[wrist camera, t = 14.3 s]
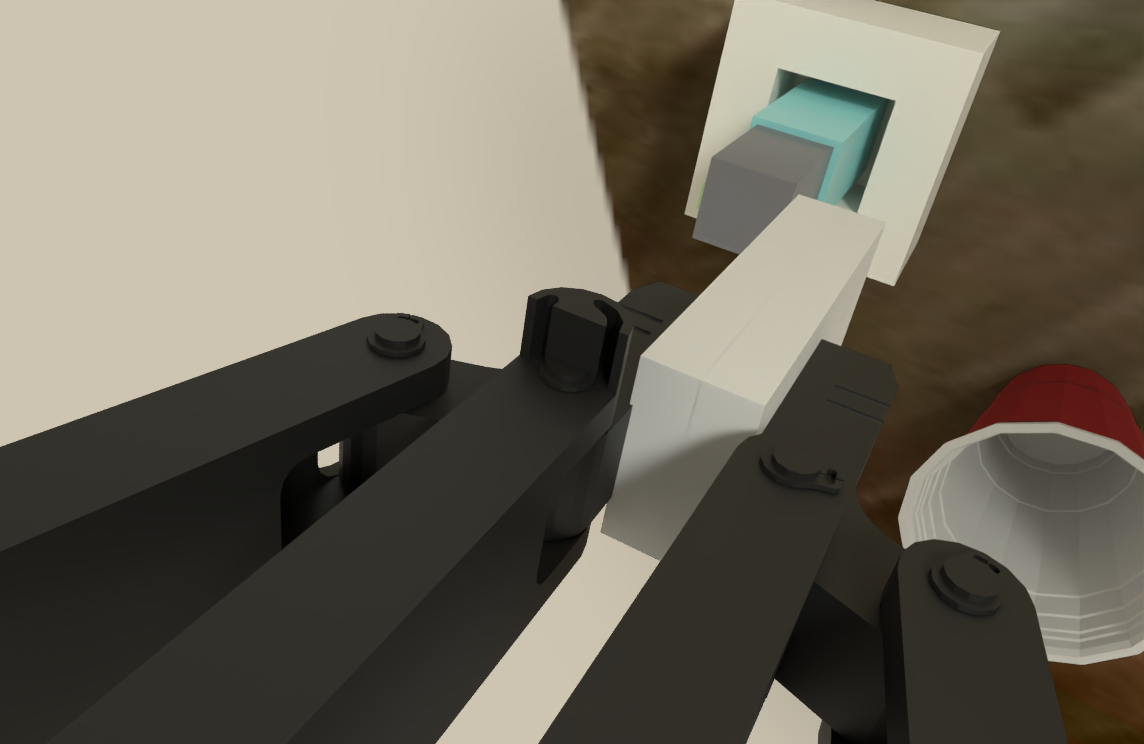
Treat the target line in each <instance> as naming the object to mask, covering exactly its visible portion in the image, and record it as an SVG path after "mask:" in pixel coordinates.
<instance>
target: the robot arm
mask: <svg viewBox="0 0 1144 744" xmlns="http://www.w3.org/2000/svg"><path fill="white" fill-rule="evenodd" d="M885 225H886V222H883V221H880V220H877V219H874V218H871V217H868V216H865V215H862V214H859V213H855V212H852V211H849V210H846V209H843V208H840V207H837V206H834V205H831V204H828V203H824V202H821V201H818V200H815V199H812V198H809V197H806V196H803V195H800V194H799V195H798V196H797V197H796V198H795V199H794V200H793V201H792V202H791V203H790V204H789V205H788V206H787V207H786V208H785V209H784V210H783V211H782V212H781V213H780V214H779V215H778V216H777V217H776V218H775V219H774V220H773V221H772V222H771V223H770V224H769V225H768V226H767V227H766V228H765V229H764V230H763V231H762V232H761V233H760V234H759V235H758V237H757V238H756V239H755V240H754V241H753V242H752V243H751V244H750V245H749V246H748V247H747V248H746V249H745V250H744V251H743V252H742V253H741V254H740V255H739V256H738V257H737V258H736V259H735V260H734V261H733V262H732V263H731V264H730V265H729V266H728V267H727V268H726V269H725V270H724V271H723V272H722V273H721V274H720V275H719V276H718V277H717V278H716V279H715V280H714V281H713V282H712V283H711V284H710V285H709V286H708V287H707V289H706V290H705V291H704V292H703V293H702V294H701V295H700V296H698V295H695V294H692V293H690V292H687V291H684V290H682V289H679V288H676V287H674V286H671V285H668V284H666V283H663V282H656V283H653V284H649V285H646V286H642V287H639V288H635V289H633V290H632V291H631V292H630V293H628V294H627V295H626V296H625V297H624V298H623V299H622V300H621V301H619V302H615V301H613V300H612V299H610V298H608V297H606V296H604V295H602V294H598V293H594V292H591V291H587V290H584V289H574V288H563V287H560V288H553V289H545V290H541V291H539V292H536V293H534V294H532V295H529V296H528V302H527V309H526V316H525V323H524V330H523V337H522V344H521V351H520V355H519V356H518V357H517V358H515V359H514V360H513V361H512V362H510V363H509V364H508V365H507V366H506V367H504V368H503V369H497V368H490V367H484V366H479V365H474V364H469V363H464V362H459V361H455V360H451V351H452V345H451V341H450V337H449V335H448V334H447V333H446V332H445V331H444V330H443V329H442V328H441V327H440V326H439V325H437V324H435V323H433V322H431V321H428V320H426V319H424V318H422V317H418V316H414V315H410V314H404V313H397V314H377V315H373V316H368V317H363V318H360V319H358V320H355V321H352V322H349V323H346V324H344V325H341V326H338V327H335V328H333V329H330V330H327V331H325V332H321V333H318V334H316V335H313V336H310V337H307V338H305V339H302V340H299V341H296V342H293V343H290V344H288V345H285V346H282V347H279V348H276V349H274V350H271V351H268V352H265V353H263V354H260V355H257V356H254V357H251V358H248V359H246V360H243V361H240V362H237V363H234V364H231V365H229V366H226V367H223V368H220V369H217V370H215V371H212V372H209V373H206V374H204V375H201V376H198V377H195V378H192V379H190V380H187V381H184V382H181V383H179V384H175V385H173V386H170V387H167V388H164V389H161V390H159V391H156V392H153V393H150V394H148V395H145V396H142V397H139V398H136V399H133V400H131V401H128V402H125V403H122V404H119V405H117V406H114V407H111V408H108V409H105V410H103V411H100V412H97V413H94V414H91V415H89V416H86V417H83V418H80V419H77V420H75V421H72V422H69V423H66V424H63V425H61V426H58V427H55V428H52V429H50V430H47V431H44V432H41V433H38V434H35V435H33V436H30V437H27V438H24V439H21V440H19V441H16V442H13V443H10V444H7V445H5V446H2V447H0V744H435V743H436V742H437V741H438V740H439V738H440V737H441V736H442V735H443V733H444V732H445V731H446V729H447V728H448V727H449V726H450V724H451V723H452V722H453V720H454V719H455V718H456V717H457V715H458V714H459V713H460V711H461V710H462V709H463V708H464V706H465V705H466V704H467V702H468V701H469V700H470V699H471V697H472V696H473V695H474V693H475V692H476V691H477V689H478V688H479V687H480V686H481V684H482V683H483V682H484V681H485V679H486V678H487V677H488V675H489V674H490V673H491V672H492V670H493V669H494V668H495V666H496V665H497V664H498V662H499V661H500V660H501V659H502V657H503V656H504V655H505V654H506V652H507V651H508V650H509V648H510V647H511V646H512V645H513V643H514V642H515V640H516V639H517V638H518V636H519V635H520V634H521V633H522V631H523V630H524V629H525V628H526V626H527V625H528V624H529V622H530V621H531V620H532V619H533V617H534V616H535V615H536V614H537V612H538V611H539V610H540V608H541V607H542V606H543V604H544V603H545V602H546V601H547V599H548V598H549V597H550V596H551V594H552V593H553V591H554V590H555V589H556V587H558V585H559V584H560V583H561V581H562V580H563V579H564V577H565V576H566V575H567V574H568V572H569V571H570V570H571V569H572V567H573V566H574V564H575V563H576V562H577V561H578V559H579V558H580V557H581V555H582V553H583V551H584V548H585V546H586V543H587V539H588V534H589V529H590V525H591V522H592V521H593V519H594V518H595V517H596V515H597V514H598V513H599V512H600V511H601V509H602V508H603V507H604V506H605V504H606V503H607V506H606V510H605V515H604V519H603V523H602V528H601V533H603V534H605V535H608V536H610V537H612V538H614V539H616V540H618V541H620V542H623V543H624V544H626V545H629V546H631V547H633V548H635V549H637V550H639V551H641V552H643V553H645V554H647V555H649V556H651V557H653V558H655V559H658V560H660V563H659V564H658V566H657V567H656V569H655V570H654V572H653V573H652V575H651V576H650V578H649V579H648V580H647V582H646V584H645V585H644V587H643V588H642V589H641V591H640V592H639V594H638V595H637V597H636V599H635V600H634V602H633V603H632V604H631V606H630V607H629V609H628V610H627V612H626V613H625V615H624V616H623V618H622V620H621V621H620V622H619V624H618V625H617V627H616V628H615V630H614V631H613V633H612V634H611V636H610V637H609V639H608V640H607V642H606V643H605V645H604V646H603V648H602V650H601V651H600V652H599V654H598V655H597V657H596V658H595V660H594V661H593V663H592V664H591V666H590V667H589V669H588V670H587V672H586V673H585V675H584V676H583V678H582V679H581V681H580V682H579V684H578V685H577V687H576V688H575V690H574V691H573V693H572V694H571V696H570V697H569V699H568V700H567V702H566V703H565V705H564V706H563V708H562V709H561V711H560V712H559V713H558V715H557V717H556V718H555V720H554V721H553V723H552V724H551V725H550V727H549V728H548V730H547V732H546V733H545V735H544V736H543V738H542V739H541V740H540V742H539V744H746V743H747V740H748V738H749V735H750V733H751V731H752V729H753V726H754V724H755V722H756V719H757V717H758V715H759V712H760V710H761V708H762V706H763V703H764V701H765V699H766V698H767V695H768V693H769V691H770V688H771V686H772V683H773V681H774V679H776V680H777V681H778V682H779V683H781V684H782V685H783V686H784V687H785V688H786V689H787V690H789V691H790V692H791V693H792V694H793V695H794V696H796V697H797V698H798V699H799V700H800V701H801V702H803V703H804V704H805V705H806V706H807V707H808V708H809V709H811V710H812V711H813V712H814V713H815V714H816V715H817V716H819V717H820V718H821V719H822V722H821V726H820V729H819V733H818V744H1068V742H1067V738H1066V734H1065V730H1064V725H1063V721H1062V717H1061V713H1060V709H1059V704H1058V700H1057V696H1056V692H1055V688H1054V684H1053V679H1052V675H1051V671H1050V667H1049V663H1048V659H1047V654H1046V650H1045V646H1044V642H1043V638H1042V633H1041V629H1040V625H1039V621H1038V617H1037V613H1036V608H1035V606H1034V603H1033V601H1032V599H1031V597H1030V595H1029V593H1028V591H1027V589H1026V587H1025V586H1024V585H1023V584H1022V583H1021V582H1020V581H1019V580H1018V579H1017V578H1016V577H1015V575H1014V574H1013V573H1012V572H1011V571H1010V570H1009V569H1008V568H1006V567H1005V566H1003V565H1002V564H1000V563H999V562H997V561H996V560H994V559H993V558H991V557H990V556H988V555H987V554H985V553H984V552H981V551H978V550H976V549H973V548H971V547H968V546H966V545H963V544H961V543H958V542H951V541H945V540H938V539H931V540H925V541H919V542H914V543H913V544H912V545H910V546H909V547H908V548H906V549H905V548H903V547H902V546H900V545H899V544H898V543H896V542H895V541H893V540H892V539H891V538H889V537H888V536H887V535H886V534H884V533H883V532H882V531H881V530H879V529H878V528H877V527H876V526H875V525H874V523H873V522H872V521H871V520H870V519H869V518H868V517H867V516H866V514H865V512H864V511H863V509H862V507H861V505H860V503H859V501H858V496H857V492H856V488H857V484H858V481H859V479H860V477H861V474H862V472H863V470H864V467H865V465H866V462H867V460H868V458H869V455H870V453H871V450H872V448H873V446H874V443H875V441H876V439H877V436H878V434H879V431H880V429H881V427H882V424H883V422H884V419H885V417H886V415H887V412H888V410H889V407H890V405H891V403H892V400H893V398H894V395H895V393H896V391H897V388H898V384H897V382H896V379H895V376H894V373H893V370H892V367H891V364H888V363H885V362H882V361H880V360H877V359H874V358H872V357H869V356H866V355H864V354H861V353H858V352H856V351H853V350H850V349H847V348H845V347H842V346H841V345H842V342H843V339H844V337H845V334H846V331H847V328H848V326H849V323H850V320H851V317H852V315H853V312H854V309H855V307H856V304H857V301H858V298H859V296H860V293H861V290H862V287H863V285H864V282H865V279H866V277H867V274H868V271H869V268H870V266H871V263H872V260H873V257H874V255H875V252H876V249H877V246H878V244H879V241H880V238H881V236H882V233H883V230H884V227H885ZM338 442H339V462H337V463H334V464H332V465H330V466H326V467H322V468H319V467H318V452H319V451H321V450H323V449H325V448H327V447H329V446H332V445H334V444H336V443H338Z"/></svg>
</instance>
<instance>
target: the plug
mask: <svg viewBox="0 0 1144 744" xmlns="http://www.w3.org/2000/svg"><path fill="white" fill-rule="evenodd" d="M888 102H889V99H887V98H884V97H880V96H877V95H873V94H869V93H866V92H862V91H859V90H855V89H852V88H848V87H844V86H841V85H837V84H834V83H830V82H826V81H823V80H819V79H816V78H812V77H809V78H808V79H807V80H805V81H804V82H802V83H801V84H799V85H798V86H796V87H795V88H793V89H792V90H790V91H789V92H787V93H786V94H785V95H783V96H782V97H780V98H779V99H777V100H776V101H774V102H773V103H771V104H770V105H768V106H767V107H765V108H764V109H763V110H761V111H760V112H758V113H757V114H755V115H754V116H753V118H752V122H751V125H750V129H749V131H747V132H746V133H745V134H743V135H742V136H740V137H739V138H738V139H736V140H735V141H733V142H732V143H731V144H729V145H728V146H726V147H725V148H724V149H722V150H721V151H719V152H718V153H717V154H715V155H714V156H712V158H711V162H710V166H709V170H708V174H707V178H706V182H705V187H704V191H703V195H702V199H701V203H700V207H699V211H698V215H697V219H696V223H695V228H694V232H693V236H692V238H694V239H697V240H700V241H703V242H705V243H708V244H711V245H714V246H717V247H720V248H722V249H725V250H728V251H731V252H734V253H737V254H739V255H740V254H741V253H742V252H743V251H744V250H745V249H746V248H747V247H748V246H749V245H750V244H751V243H752V242H753V241H754V240H755V239H756V238H757V237H758V235H759V234H760V233H761V232H762V231H763V230H764V229H765V228H766V227H767V226H768V225H769V224H770V223H771V222H772V221H773V220H774V219H775V218H776V217H777V216H778V215H779V214H780V213H781V212H782V211H783V210H784V209H785V208H786V207H787V206H788V205H789V204H790V203H791V202H792V201H793V200H794V199H795V198H796V197H797V196H798V195H799V194H800V195H803V196H806V197H809V198H812V199H815V200H818V201H821V202H824V203H828V204H831V205H834V206H835V205H836V204H837V203H838V202H839V200H840V199H841V198H842V197H843V196H844V195H845V193H846V192H847V191H848V190H849V189H850V187H851V186H852V185H853V184H854V183H855V181H856V180H857V179H858V178H859V177H860V176H861V174H862V173H863V172H864V171H865V169H866V166H867V163H868V160H869V157H870V155H871V152H872V149H873V146H874V143H875V140H876V137H877V134H878V131H879V128H880V125H881V122H882V119H883V116H884V114H885V111H886V108H887V105H888Z"/></svg>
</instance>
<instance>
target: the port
mask: <svg viewBox="0 0 1144 744" xmlns="http://www.w3.org/2000/svg"><path fill="white" fill-rule="evenodd" d="M999 33H1000V31H997V30H993V29H989V28H985V27H981V26H977V25H973V24H969V23H965V22H961V21H956V20H952V19H948V18H944V17H940V16H936V15H932V14H928V13H924V12H920V11H916V10H912V9H908V8H904V7H899V6H895V5H891V4H887V3H883V2H879V1H875V0H735V1H734V6H733V10H732V14H731V18H730V23H729V27H728V31H727V35H726V40H725V44H724V48H723V52H722V57H721V61H720V65H719V69H718V74H717V78H716V82H715V86H714V91H713V95H712V99H711V104H710V108H709V112H708V116H707V121H706V125H705V129H704V133H703V138H702V142H701V146H700V150H699V155H698V159H697V163H696V167H695V172H694V176H693V180H692V184H691V189H690V193H689V197H688V201H687V206H686V210H685V215H688V216H691V217H694V218H697V215H698V211H699V207H700V203H701V199H702V195H703V191H704V187H705V182H706V178H707V174H708V170H709V166H710V162H711V158H712V156H714V155H715V154H717V153H718V152H719V151H721V150H722V149H724V148H725V147H726V146H728V145H729V144H731V143H732V142H733V141H735V140H736V139H738V138H739V137H740V136H742V135H743V134H745V133H746V132H747V131H749V129H750V125H751V122H752V118H753V116H754V115H755V114H757V113H758V112H760V111H761V110H763V109H764V108H765V107H767V106H768V105H770V104H771V103H773V102H774V101H776V100H777V99H779V98H780V97H782V96H783V95H785V94H786V93H787V92H789V91H790V90H792V89H793V88H795V87H796V86H798V85H799V84H801V83H802V82H804V81H805V80H807V79H808V78H809V77H812V78H816V79H819V80H823V81H826V82H830V83H834V84H837V85H841V86H844V87H848V88H852V89H855V90H859V91H862V92H866V93H869V94H873V95H877V96H880V97H884V98H887V99H889V102H888V105H887V108H886V111H885V114H884V116H883V119H882V122H881V125H880V128H879V131H878V134H877V137H876V140H875V143H874V146H873V149H872V152H871V155H870V157H869V160H868V163H867V166H866V169H865V171H864V172H863V173H862V174H861V176H860V177H859V178H858V179H857V180H856V181H855V183H854V184H853V185H852V186H851V187H850V189H849V190H848V191H847V192H846V193H845V195H844V196H843V197H842V198H841V199H840V200H839V202H838V203H837V204H836V205H835V206H837V207H840V208H843V209H846V210H849V211H852V212H855V213H859V214H862V215H865V216H868V217H871V218H874V219H877V220H880V221H883V222H886V225H885V227H884V230H883V233H882V236H881V238H880V241H879V244H878V246H877V249H876V252H875V255H874V257H873V260H872V263H871V266H870V268H869V271H868V274H867V277H868V278H871V279H874V280H877V281H880V282H883V283H886V284H889V285H892V286H894V285H895V283H896V281H897V280H898V278H899V276H900V274H901V272H902V270H903V269H904V267H905V265H906V263H907V261H908V259H909V257H910V256H911V254H912V252H913V250H914V248H915V246H916V245H917V243H918V240H919V238H920V235H921V233H922V230H923V228H924V225H925V222H926V220H927V217H928V215H929V212H930V210H931V207H932V205H933V202H934V199H935V197H936V194H937V192H938V189H939V187H940V184H941V182H942V179H943V176H944V174H945V171H946V169H947V166H948V164H949V161H950V159H951V156H952V153H953V151H954V148H955V146H956V143H957V141H958V138H959V136H960V133H961V131H962V128H963V125H964V123H965V120H966V118H967V115H968V113H969V110H970V108H971V105H972V102H973V100H974V97H975V95H976V92H977V90H978V87H979V85H980V82H981V79H982V77H983V74H984V72H985V69H986V67H987V64H988V62H989V59H990V56H991V54H992V51H993V49H994V46H995V44H996V41H997V39H998V36H999Z"/></svg>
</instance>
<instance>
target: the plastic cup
mask: <svg viewBox="0 0 1144 744" xmlns="http://www.w3.org/2000/svg"><path fill="white" fill-rule="evenodd" d="M898 521H899V527H900V533H901V539H902V545H903V548H905V549H906V548H908V547H909V546H910V545H912V544H913V543H914V542H919V541H925V540H931V539H938V540H945V541H951V542H958V543H961V544H963V545H966V546H968V547H971V548H973V549H976V550H978V551H981V552H984V553H985V554H987V555H988V556H990V557H991V558H993V559H994V560H996V561H997V562H999V563H1000V564H1002V565H1003V566H1005V567H1006V568H1008V569H1009V570H1010V571H1011V572H1012V573H1013V574H1014V575H1015V577H1016V578H1017V579H1018V580H1019V581H1020V582H1021V583H1022V584H1023V585H1024V586H1025V587H1026V589H1027V591H1028V593H1029V595H1030V597H1031V599H1032V601H1033V603H1034V606H1035V608H1036V613H1037V617H1038V621H1039V625H1040V629H1041V633H1042V638H1043V642H1044V646H1045V650H1046V654H1047V659H1048V661H1055V662H1064V663H1072V664H1080V665H1084V664H1090V663H1095V662H1100V661H1105V660H1110V659H1116V658H1121V657H1126V656H1131V655H1136V654H1139V653H1141V652H1142V651H1144V435H1143V433H1142V432H1141V430H1140V429H1139V427H1138V425H1137V424H1136V422H1135V420H1134V417H1133V415H1132V413H1131V410H1130V408H1129V407H1128V405H1127V403H1126V402H1125V400H1124V399H1123V397H1122V396H1121V394H1120V393H1119V391H1118V389H1117V388H1116V387H1114V386H1113V384H1111V383H1110V382H1109V381H1107V380H1106V379H1104V378H1103V377H1101V376H1100V375H1098V374H1097V373H1095V372H1094V371H1092V370H1089V369H1085V368H1081V367H1077V366H1073V365H1070V364H1055V365H1041V366H1038V367H1036V368H1034V369H1031V370H1029V371H1026V372H1024V373H1021V374H1019V375H1018V376H1017V377H1015V378H1014V379H1013V380H1011V381H1010V382H1009V383H1008V384H1007V385H1006V386H1005V387H1004V388H1003V389H1002V390H1001V391H1000V392H999V393H998V394H997V396H996V397H995V399H994V400H993V402H992V403H991V405H990V406H989V407H988V408H987V409H986V410H985V411H984V412H983V413H982V414H981V416H980V417H979V418H978V420H977V421H976V422H975V423H974V425H973V426H972V427H971V429H970V430H969V431H968V433H967V434H966V435H964V436H961V437H959V438H956V439H953V440H951V441H948V442H946V443H944V444H943V445H942V446H941V447H940V448H939V449H938V450H937V451H936V452H935V453H934V454H933V455H932V456H931V457H930V458H929V459H928V460H927V461H926V462H925V463H924V464H923V465H922V466H921V467H920V468H919V469H918V470H917V471H916V472H915V473H914V474H913V475H912V476H911V478H910V481H909V484H908V488H907V491H906V494H905V497H904V500H903V503H902V506H901V509H900V513H899V516H898Z"/></svg>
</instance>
